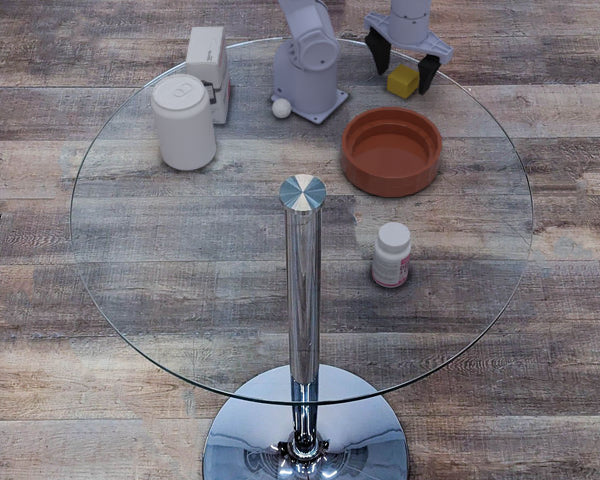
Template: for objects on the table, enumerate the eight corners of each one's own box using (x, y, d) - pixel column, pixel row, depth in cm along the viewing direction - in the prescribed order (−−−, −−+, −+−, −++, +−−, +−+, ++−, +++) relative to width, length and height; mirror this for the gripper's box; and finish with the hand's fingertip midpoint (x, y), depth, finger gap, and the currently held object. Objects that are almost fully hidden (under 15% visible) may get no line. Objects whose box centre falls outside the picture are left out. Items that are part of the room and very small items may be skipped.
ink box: (200, 86, 138) (191, 24, 128) (231, 86, 138) (224, 24, 128) (193, 124, 133) (183, 62, 123) (226, 124, 133) (218, 63, 123)
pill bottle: (405, 291, 114) (410, 251, 107) (369, 285, 115) (372, 245, 108) (409, 263, 117) (415, 222, 110) (374, 257, 117) (378, 216, 111)
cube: (386, 89, 137) (387, 75, 134) (399, 77, 138) (400, 63, 136) (405, 99, 135) (407, 85, 133) (418, 86, 137) (420, 72, 135)
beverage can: (150, 155, 129) (136, 92, 120) (190, 126, 133) (180, 63, 123) (187, 181, 126) (176, 120, 116) (227, 151, 129) (220, 89, 120)
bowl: (321, 170, 127) (321, 148, 123) (377, 116, 133) (378, 93, 130) (403, 215, 122) (405, 193, 118) (457, 156, 128) (461, 133, 124)
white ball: (293, 111, 134) (293, 96, 132) (287, 124, 133) (287, 109, 130) (276, 107, 135) (275, 92, 132) (270, 120, 133) (269, 105, 131)
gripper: (469, 11, 124) (456, 85, 135) (384, -25, 129) (379, 49, 140) (442, 37, 120) (432, 111, 131) (356, -1, 126) (353, 73, 137)
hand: (403, 81), depth 136 cm, fingers open, 7 cm apart
